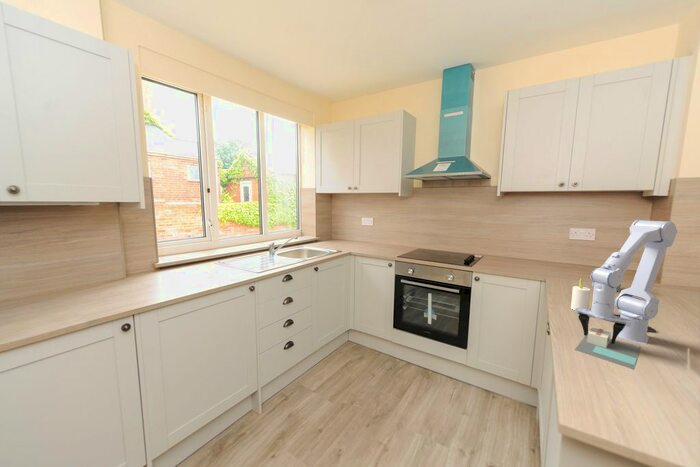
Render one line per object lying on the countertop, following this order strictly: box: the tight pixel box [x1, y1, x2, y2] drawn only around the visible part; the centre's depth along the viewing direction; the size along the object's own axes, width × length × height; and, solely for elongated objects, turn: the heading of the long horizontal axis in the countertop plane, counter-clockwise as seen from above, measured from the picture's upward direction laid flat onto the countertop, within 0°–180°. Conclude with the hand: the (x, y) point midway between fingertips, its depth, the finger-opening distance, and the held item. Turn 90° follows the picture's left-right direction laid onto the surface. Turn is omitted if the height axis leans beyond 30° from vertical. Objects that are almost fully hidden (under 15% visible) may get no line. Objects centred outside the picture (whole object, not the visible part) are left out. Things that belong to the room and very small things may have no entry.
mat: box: [574, 335, 642, 370], centre depth 93 cm, size 20×14×1 cm
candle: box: [570, 278, 591, 311], centre depth 127 cm, size 6×6×15 cm
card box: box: [587, 326, 612, 348], centre depth 97 cm, size 8×5×4 cm, turn 129°
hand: (599, 338), depth 97 cm, fingers open, 7 cm apart
